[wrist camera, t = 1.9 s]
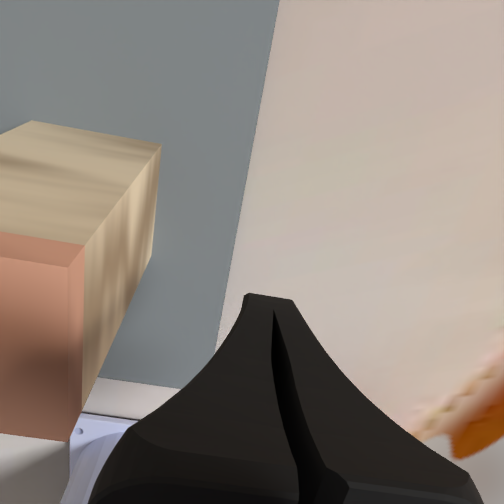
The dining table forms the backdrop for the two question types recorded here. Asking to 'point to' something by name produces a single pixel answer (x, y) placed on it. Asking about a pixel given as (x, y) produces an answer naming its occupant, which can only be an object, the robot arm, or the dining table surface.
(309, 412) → the robot arm
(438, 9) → the dining table surface
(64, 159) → the beech block
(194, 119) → the slate mat
